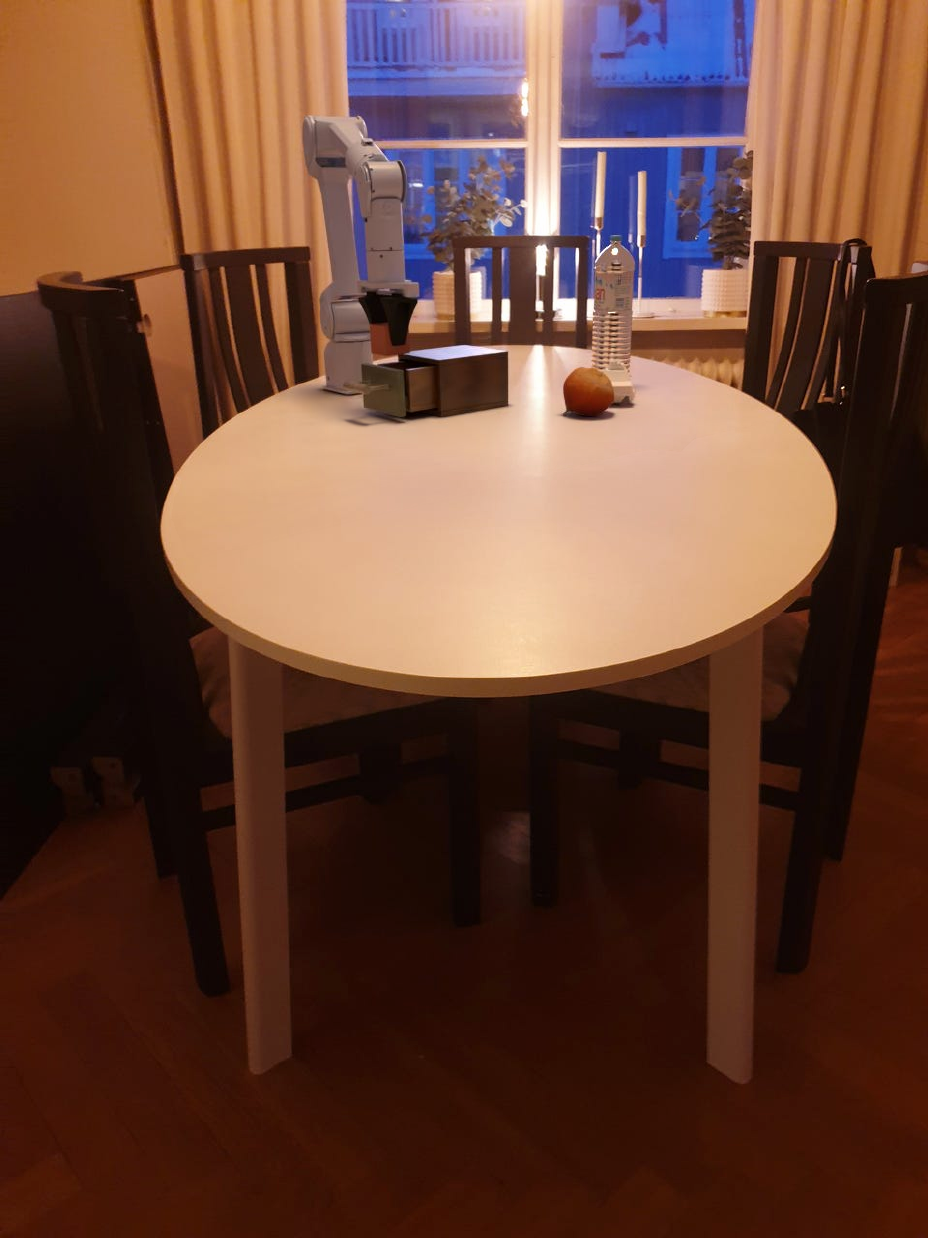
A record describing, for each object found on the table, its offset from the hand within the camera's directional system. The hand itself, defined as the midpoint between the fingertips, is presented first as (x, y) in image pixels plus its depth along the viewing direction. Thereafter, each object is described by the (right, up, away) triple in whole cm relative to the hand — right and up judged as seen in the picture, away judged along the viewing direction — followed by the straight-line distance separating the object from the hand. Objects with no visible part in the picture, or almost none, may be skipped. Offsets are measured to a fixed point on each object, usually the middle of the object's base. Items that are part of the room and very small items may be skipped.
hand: (390, 343), depth 141 cm
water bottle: (+38, -2, +20) cm, 43 cm away
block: (0, -1, +1) cm, 1 cm away
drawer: (+2, -10, +1) cm, 10 cm away
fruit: (+31, -12, -2) cm, 33 cm away
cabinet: (+10, -8, +7) cm, 15 cm away
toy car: (+37, -7, +8) cm, 38 cm away
